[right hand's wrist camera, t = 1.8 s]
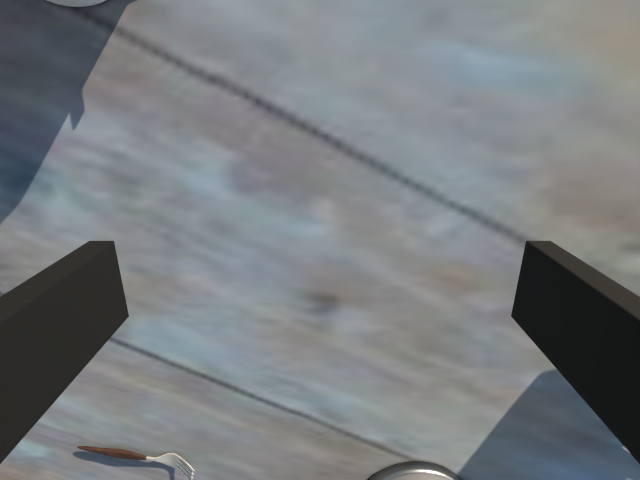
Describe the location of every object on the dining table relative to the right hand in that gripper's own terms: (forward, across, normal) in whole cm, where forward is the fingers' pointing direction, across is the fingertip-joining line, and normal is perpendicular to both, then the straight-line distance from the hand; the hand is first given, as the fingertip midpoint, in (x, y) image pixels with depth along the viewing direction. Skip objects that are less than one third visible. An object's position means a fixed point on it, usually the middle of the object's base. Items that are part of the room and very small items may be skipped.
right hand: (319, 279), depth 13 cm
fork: (+28, +25, +40) cm, 55 cm away
